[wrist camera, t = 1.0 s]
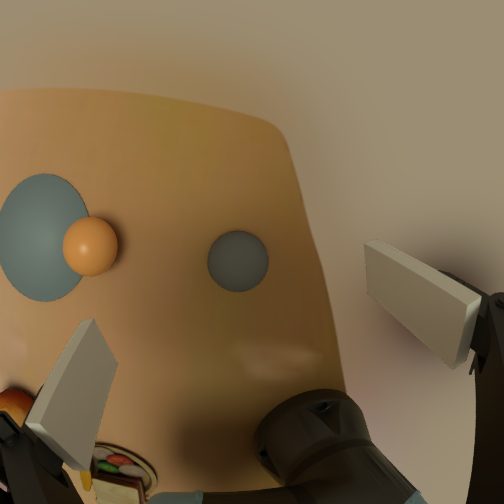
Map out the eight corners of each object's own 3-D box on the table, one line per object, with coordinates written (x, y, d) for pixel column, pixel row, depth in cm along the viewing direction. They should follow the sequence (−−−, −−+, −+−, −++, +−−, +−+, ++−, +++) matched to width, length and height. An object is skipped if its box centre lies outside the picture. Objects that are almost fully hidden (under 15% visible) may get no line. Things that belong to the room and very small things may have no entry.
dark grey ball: (272, 258, 29) (288, 265, 24) (233, 296, 29) (241, 311, 24) (235, 219, 28) (243, 217, 23) (195, 257, 28) (194, 265, 23)
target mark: (116, 237, 26) (116, 237, 26) (45, 325, 25) (44, 326, 25) (44, 149, 24) (44, 148, 23) (-17, 238, 23) (-18, 238, 22)
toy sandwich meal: (161, 454, 29) (159, 478, 25) (154, 501, 30) (153, 521, 25) (74, 428, 27) (63, 449, 22) (80, 480, 27) (74, 499, 23)
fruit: (-10, 368, 22) (-13, 409, 16) (39, 381, 28) (45, 422, 22) (-8, 407, 22) (-7, 447, 16) (36, 417, 28) (44, 457, 22)
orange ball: (134, 245, 27) (120, 249, 21) (100, 282, 26) (81, 294, 21) (99, 206, 26) (79, 202, 20) (67, 244, 25) (42, 248, 20)
